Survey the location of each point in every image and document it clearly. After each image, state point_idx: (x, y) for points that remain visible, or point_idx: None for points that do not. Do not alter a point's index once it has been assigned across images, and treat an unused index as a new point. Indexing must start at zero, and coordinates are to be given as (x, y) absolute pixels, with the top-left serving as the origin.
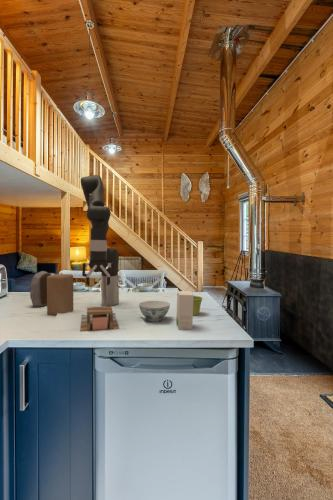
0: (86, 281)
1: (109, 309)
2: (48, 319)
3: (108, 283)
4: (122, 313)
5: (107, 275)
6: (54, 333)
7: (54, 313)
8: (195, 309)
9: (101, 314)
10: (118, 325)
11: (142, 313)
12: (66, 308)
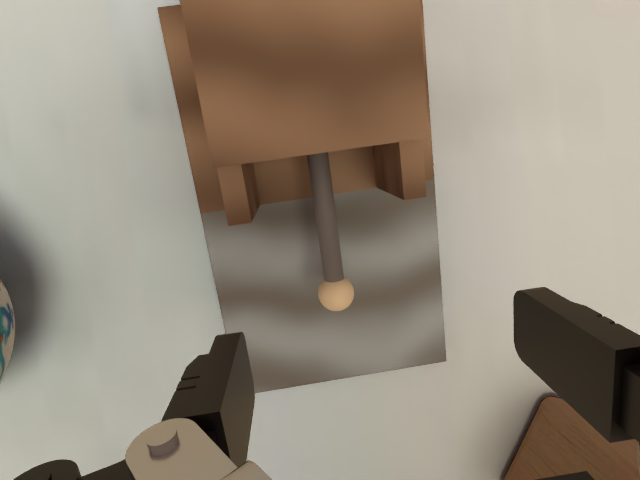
0: (609, 319)
1: (213, 32)
2: None
3: (214, 344)
4: None
5: (200, 446)
6: (563, 42)
7: None
8: None
9: None
10: (176, 94)
11: (2, 283)
12: (557, 439)
